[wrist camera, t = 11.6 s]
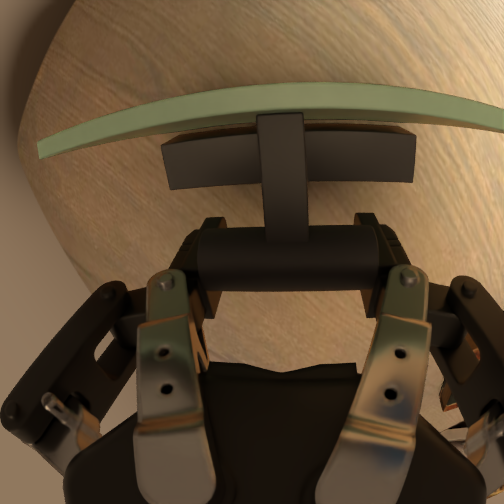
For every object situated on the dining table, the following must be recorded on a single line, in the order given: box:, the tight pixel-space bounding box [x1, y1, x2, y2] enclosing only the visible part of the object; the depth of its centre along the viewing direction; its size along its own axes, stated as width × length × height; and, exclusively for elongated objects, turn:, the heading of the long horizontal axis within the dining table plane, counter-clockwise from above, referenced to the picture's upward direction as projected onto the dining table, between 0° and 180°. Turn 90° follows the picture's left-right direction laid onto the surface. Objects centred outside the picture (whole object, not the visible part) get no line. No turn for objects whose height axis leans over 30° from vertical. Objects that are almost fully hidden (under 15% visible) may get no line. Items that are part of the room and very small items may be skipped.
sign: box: [37, 82, 504, 292], centre depth 12 cm, size 14×12×6 cm
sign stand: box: [161, 123, 416, 190], centre depth 17 cm, size 15×3×3 cm, turn 96°
